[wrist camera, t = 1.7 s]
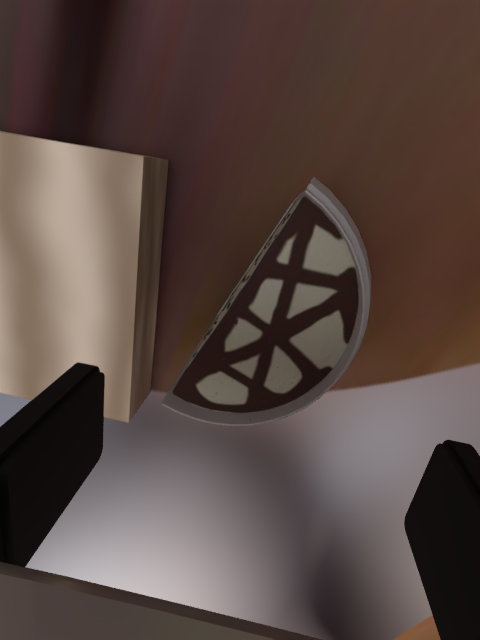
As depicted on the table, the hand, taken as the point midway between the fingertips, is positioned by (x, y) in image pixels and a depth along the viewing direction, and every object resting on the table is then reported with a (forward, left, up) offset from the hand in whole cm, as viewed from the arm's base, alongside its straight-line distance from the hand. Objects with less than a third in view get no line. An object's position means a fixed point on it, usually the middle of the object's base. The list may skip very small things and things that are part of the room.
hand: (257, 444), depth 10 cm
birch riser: (+15, +2, -16) cm, 22 cm away
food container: (-1, 0, -16) cm, 16 cm away
